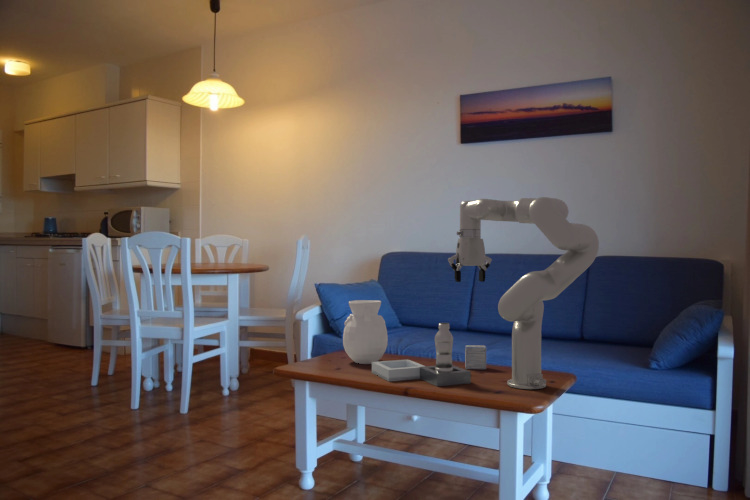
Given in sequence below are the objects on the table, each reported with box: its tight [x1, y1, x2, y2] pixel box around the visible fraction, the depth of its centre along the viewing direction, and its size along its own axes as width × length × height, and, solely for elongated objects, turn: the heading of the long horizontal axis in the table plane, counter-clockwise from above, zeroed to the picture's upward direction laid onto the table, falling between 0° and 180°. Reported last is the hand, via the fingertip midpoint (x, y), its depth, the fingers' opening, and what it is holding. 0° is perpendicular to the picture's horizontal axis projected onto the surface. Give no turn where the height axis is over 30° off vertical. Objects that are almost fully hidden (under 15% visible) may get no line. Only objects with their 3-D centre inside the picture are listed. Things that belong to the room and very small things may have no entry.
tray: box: [371, 359, 426, 382], centre depth 211 cm, size 16×15×4 cm
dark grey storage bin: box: [419, 364, 472, 387], centre depth 202 cm, size 14×13×4 cm
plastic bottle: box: [434, 322, 454, 372], centre depth 202 cm, size 6×7×20 cm
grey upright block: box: [464, 344, 487, 370], centre depth 224 cm, size 8×4×9 cm, turn 84°
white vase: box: [342, 299, 389, 365], centre depth 237 cm, size 19×18×25 cm
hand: (470, 281), depth 211 cm, fingers open, 9 cm apart
